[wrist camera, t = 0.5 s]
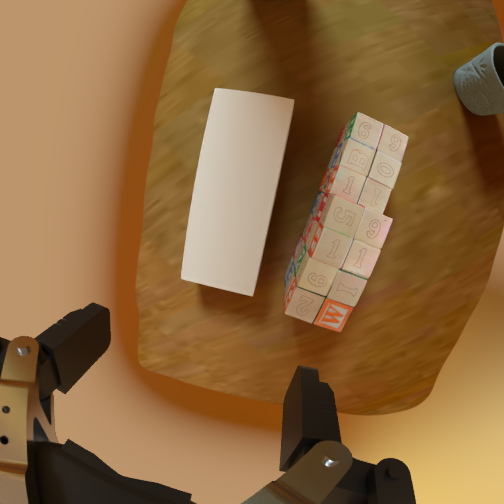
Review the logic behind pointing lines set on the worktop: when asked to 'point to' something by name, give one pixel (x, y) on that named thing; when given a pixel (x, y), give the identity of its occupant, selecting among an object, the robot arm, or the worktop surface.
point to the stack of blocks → (345, 225)
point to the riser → (236, 189)
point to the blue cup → (483, 82)
